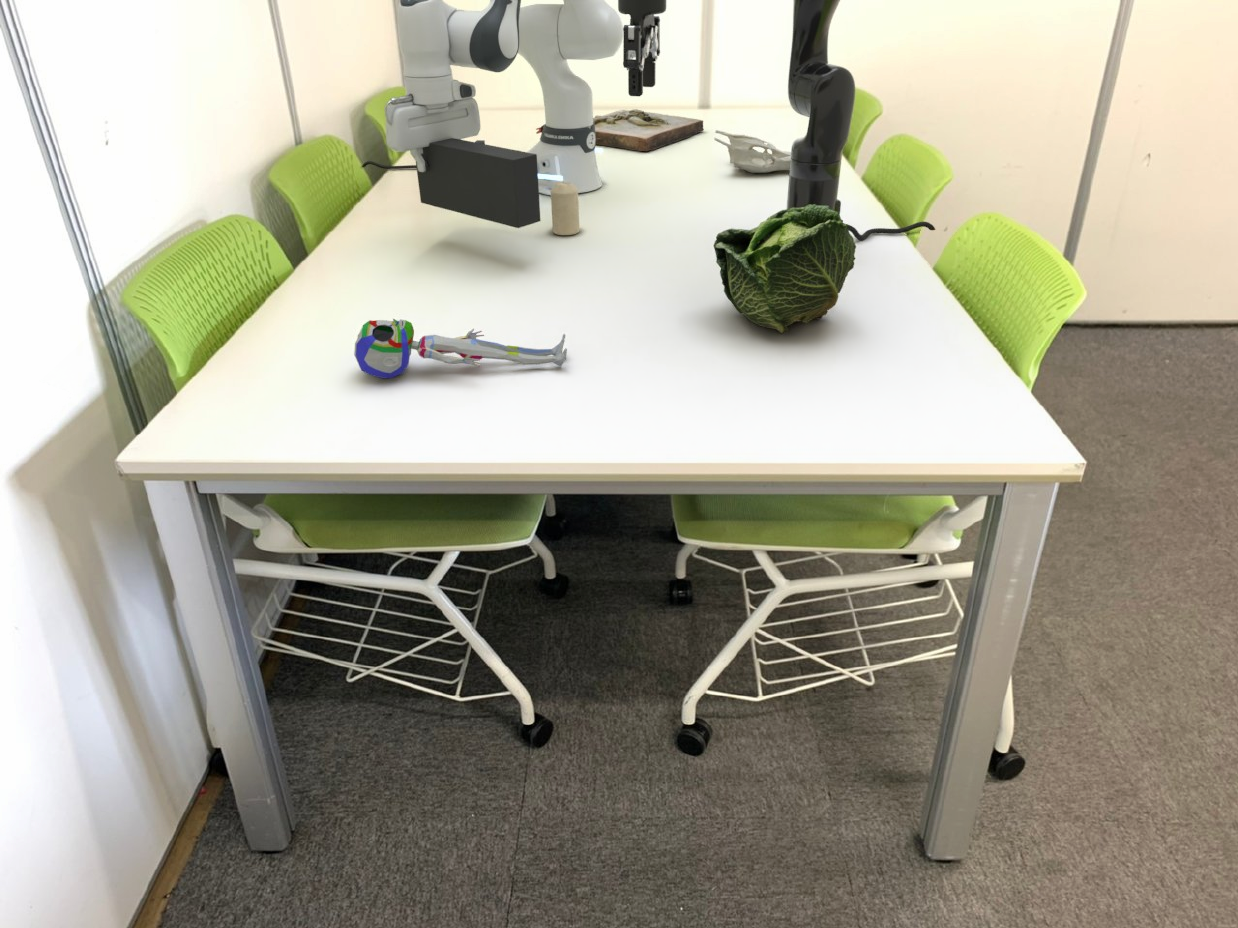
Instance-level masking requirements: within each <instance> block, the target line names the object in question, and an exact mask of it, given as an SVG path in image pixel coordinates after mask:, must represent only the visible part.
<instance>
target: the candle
mask: <svg viewBox="0 0 1238 928" xmlns="http://www.w3.org/2000/svg"><path fill="white" fill-rule="evenodd" d="M550 202H551V203H550V205H551V222H552V223H551V224H552V225H551V226H552V232H553V233H554V234H555V235H559V236H572V235H575V234H578V233H579V232H580V211H579V210H580V208H579V207H580V206H579V193H578V189H577V188H576V187H575V186H574V185H573V184H572V183H571V182H570V183H566V182H559V181H558V182H557V183H556V184H555V185H554V186H553V188H552V189H551V195H550Z"/></svg>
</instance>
